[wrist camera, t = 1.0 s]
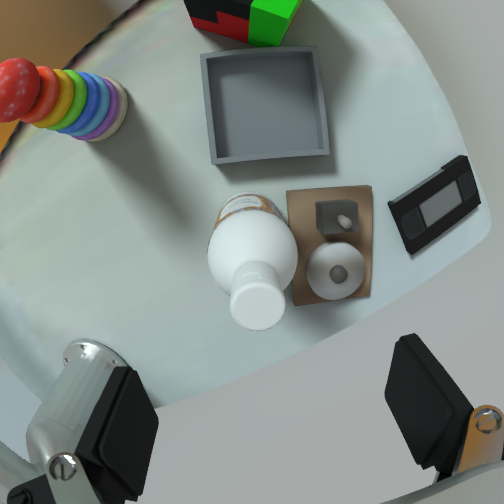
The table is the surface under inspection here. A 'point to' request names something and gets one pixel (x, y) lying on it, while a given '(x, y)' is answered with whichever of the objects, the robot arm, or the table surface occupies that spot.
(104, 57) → the table surface
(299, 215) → the board
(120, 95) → the stacking toy
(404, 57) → the table surface
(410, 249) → the vhs tape
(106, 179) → the table surface
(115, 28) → the table surface
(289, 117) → the tray
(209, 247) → the bath foam
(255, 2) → the puzzle toy
